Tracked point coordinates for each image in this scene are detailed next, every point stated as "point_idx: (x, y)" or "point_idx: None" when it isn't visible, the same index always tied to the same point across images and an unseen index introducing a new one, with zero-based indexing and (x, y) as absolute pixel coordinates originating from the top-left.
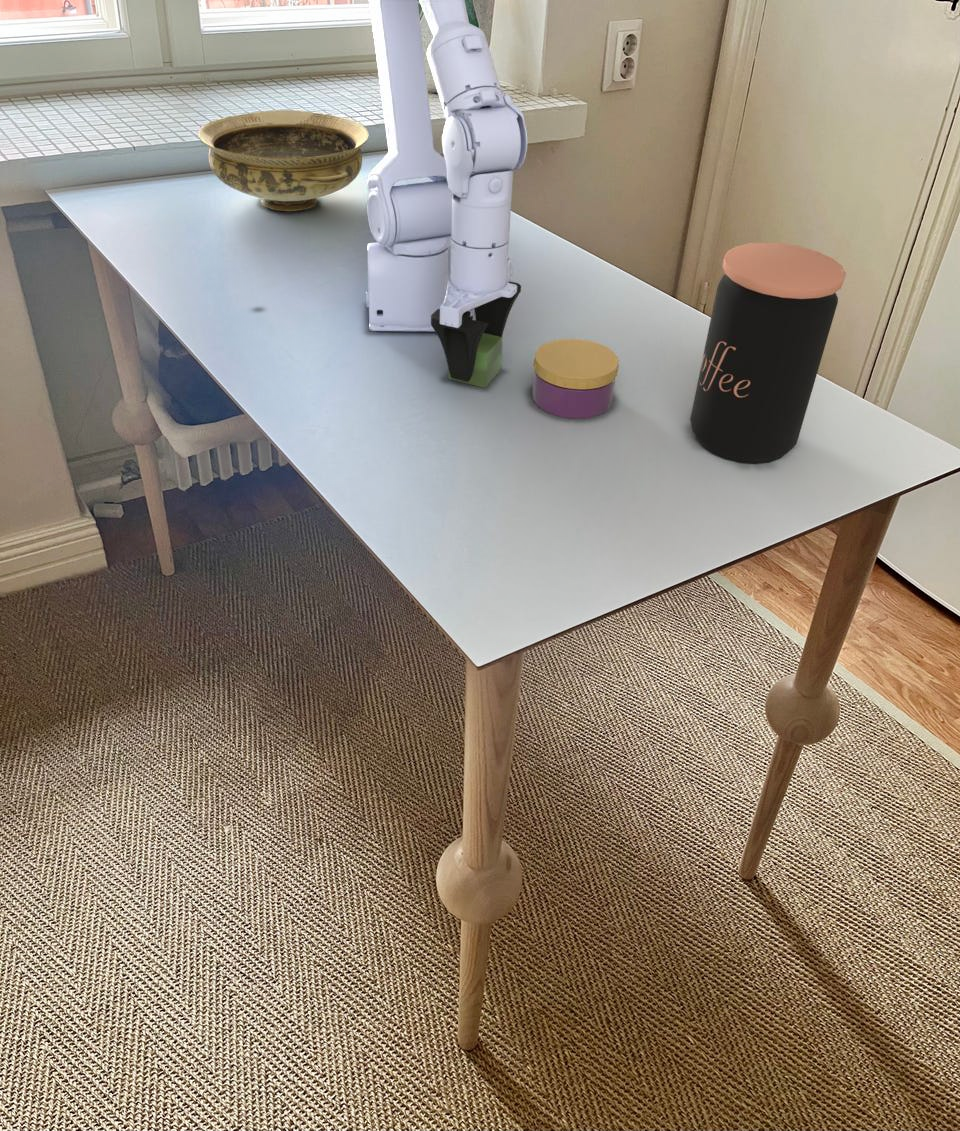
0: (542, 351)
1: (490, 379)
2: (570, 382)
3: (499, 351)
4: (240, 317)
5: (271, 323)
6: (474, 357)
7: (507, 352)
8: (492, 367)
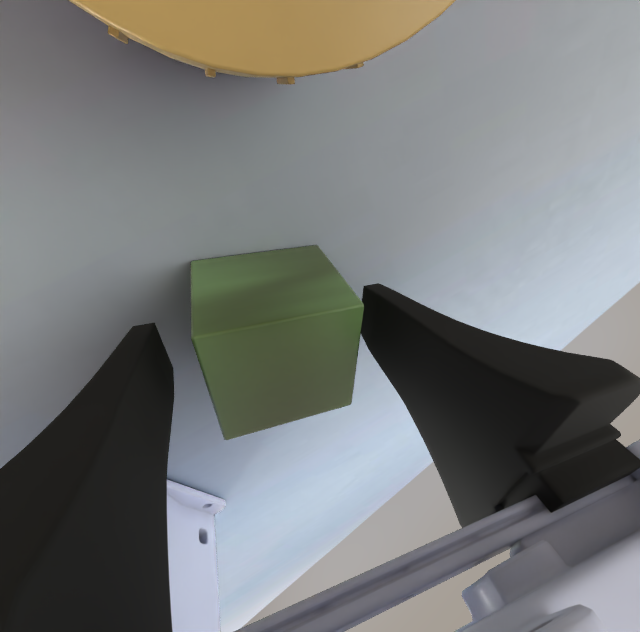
0: (296, 8)
1: (282, 253)
2: None
3: (220, 299)
4: (288, 549)
5: (283, 537)
6: (427, 316)
7: (43, 306)
8: (279, 271)
